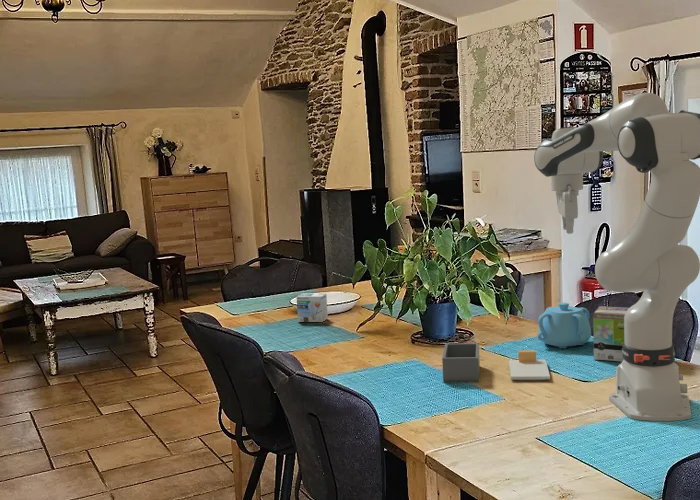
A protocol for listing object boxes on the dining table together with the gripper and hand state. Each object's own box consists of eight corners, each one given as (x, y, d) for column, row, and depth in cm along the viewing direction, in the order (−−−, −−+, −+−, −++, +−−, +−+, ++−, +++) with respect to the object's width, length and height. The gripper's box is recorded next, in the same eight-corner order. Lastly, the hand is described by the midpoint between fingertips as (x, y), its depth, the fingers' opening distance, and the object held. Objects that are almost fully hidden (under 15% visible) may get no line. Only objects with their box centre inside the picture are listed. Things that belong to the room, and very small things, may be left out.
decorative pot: (547, 336, 260) (546, 297, 258) (596, 340, 251) (595, 299, 250) (532, 348, 246) (531, 307, 244) (583, 352, 238) (582, 309, 236)
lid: (550, 382, 212) (549, 365, 211) (510, 382, 213) (510, 366, 213) (545, 365, 228) (545, 349, 227) (509, 365, 230) (508, 350, 229)
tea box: (593, 360, 228) (592, 312, 227) (599, 352, 237) (598, 305, 235) (646, 364, 221) (646, 314, 220) (651, 355, 230) (650, 307, 228)
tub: (479, 382, 214) (478, 358, 214) (443, 382, 216) (442, 358, 215) (479, 366, 230) (478, 343, 229) (446, 366, 232) (445, 343, 231)
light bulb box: (297, 323, 304) (295, 296, 302) (303, 319, 310) (301, 292, 309) (323, 323, 301) (321, 296, 299) (328, 319, 307) (326, 292, 306)
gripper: (582, 185, 212) (583, 235, 213) (574, 181, 232) (575, 227, 233) (559, 186, 213) (560, 236, 215) (553, 182, 233) (554, 228, 234)
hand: (568, 231), depth 224 cm, fingers open, 8 cm apart
